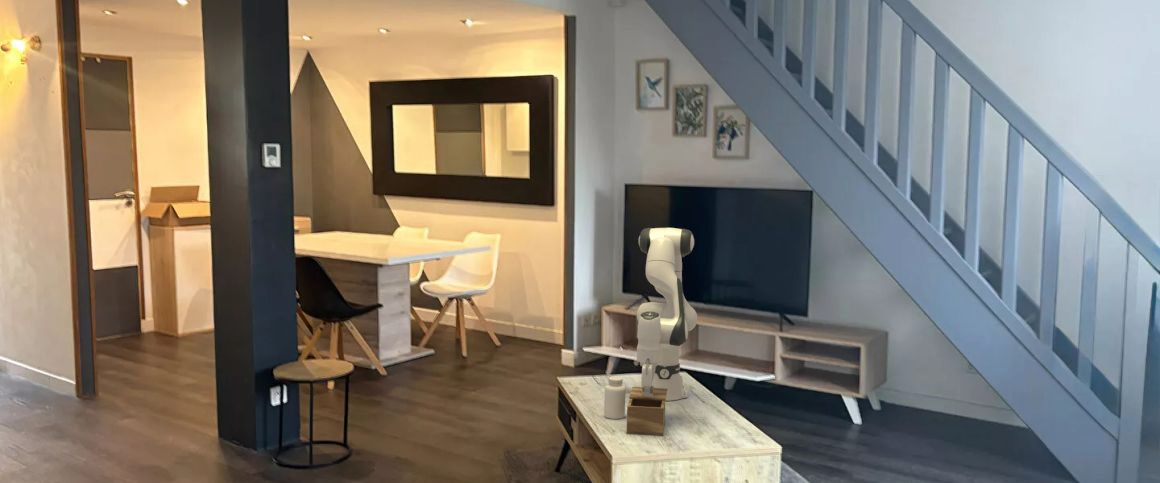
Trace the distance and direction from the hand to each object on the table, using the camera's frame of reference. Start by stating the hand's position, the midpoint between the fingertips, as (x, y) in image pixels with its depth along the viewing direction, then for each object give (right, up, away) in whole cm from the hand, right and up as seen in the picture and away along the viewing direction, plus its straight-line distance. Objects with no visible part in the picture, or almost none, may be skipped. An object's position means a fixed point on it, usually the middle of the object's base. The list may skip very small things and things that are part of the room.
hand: (647, 392), depth 338 cm
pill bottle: (-12, -11, +11) cm, 20 cm away
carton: (-1, -13, -4) cm, 13 cm away
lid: (+1, -2, +5) cm, 6 cm away
